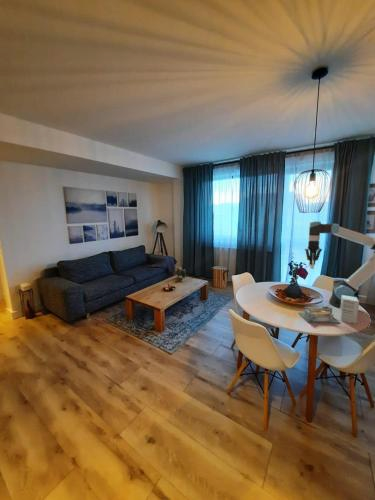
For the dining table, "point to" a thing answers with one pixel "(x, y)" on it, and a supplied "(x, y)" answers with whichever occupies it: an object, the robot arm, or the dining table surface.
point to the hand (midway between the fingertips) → (311, 268)
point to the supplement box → (349, 309)
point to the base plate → (310, 317)
